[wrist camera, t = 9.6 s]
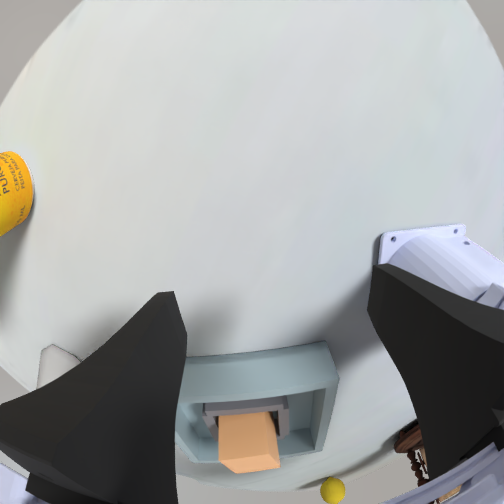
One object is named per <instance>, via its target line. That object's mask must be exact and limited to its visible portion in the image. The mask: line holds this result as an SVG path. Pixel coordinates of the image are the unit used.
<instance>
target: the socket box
mask: <svg viewBox="0 0 504 504" xmlns="http://www.w3.org/2000/svg"><path fill="white" fill-rule="evenodd" d="M338 383H339V375H338V373H337V370H336V367H335V365H334V362H333V359H332V357H331V354H330V351H329V349H328V346H327V344H326V341H322V342H316V343H311V344H305V345H298V346H292V347H285V348H278V349H271V350H263V351H255V352H246V353H237V354H226V355H214V356H200V357H186V361H185V367H184V372H183V378H182V383H181V388H180V394H179V399H178V405H177V412H176V421H175V442H176V444H177V445H178V446H179V447H180V449H181V450H182V451H183V452H184V453H185V455H186V456H187V457H188V458H189V459H190V461H191V462H192V463H221V462H220V461H219V416H224V415H239V414H250V413H260V412H268V411H272V412H273V416H274V424H275V431H276V438H277V445H278V452H279V458H286V457H293V456H299V455H304V454H310V453H315V452H320V451H322V449H323V446H324V442H325V439H326V435H327V431H328V427H329V423H330V419H331V415H332V411H333V407H334V402H335V398H336V393H337V388H338Z"/></svg>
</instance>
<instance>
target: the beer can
mask: <svg viewBox="0 0 504 504" xmlns="http://www.w3.org/2000/svg"><path fill="white" fill-rule="evenodd" d="M33 198H34V180H33V175H32V172H31V170H30V168H29V166H28V164H27V163H26V162H25V161H24V160H23V159H22V158H21V157H20V156H19V155H18V154H17V153H15V152H11V151H8V152H3V153H0V237H1V236H2V235H3V234H5V233H6V232H8V231H9V230H11V229H12V228H14V227H16V226H17V225H19V224H20V223H22V222H23V221H24V220H25V219H26V218H27V216H28V214H29V212H30V209H31V206H32V202H33Z"/></svg>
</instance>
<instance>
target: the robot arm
mask: <svg viewBox="0 0 504 504" xmlns="http://www.w3.org/2000/svg"><path fill="white" fill-rule="evenodd" d="M454 230H455V231H454ZM465 231H466V227H465V225H463V224H454V225H445V226H436V227H428V228H419V229H410V230H402V231H393V232H386V233H384V234H383V235H382V236H381V239H380V250H379V259H378V265H373V272H372V280H371V288H370V295H369V301H368V308H367V311H368V313H369V316H370V318H371V321H372V323H373V326H374V328H375V330H376V332H377V334H378V336H379V337H380V339H381V341H382V343H383V344H384V346H385V348H386V350H387V351H388V353H389V355H390V357H391V358H392V360H393V362H394V364H395V365H396V367H397V369H398V371H399V372H400V374H401V376H402V378H403V380H404V382H405V385H406V387H407V390H408V393H409V395H410V398H411V401H412V403H413V407H414V410H415V413H416V416H417V419H418V423H419V427H420V431H421V435H422V439H423V444H424V450H425V456H426V463H427V473H428V476H429V479H430V482H428V483H426V484H424V485H422V486H420V487H418V488H416V489H414V490H411V491H409V492H407V493H405V494H402V495H400V496H398V497H395V498H393V499H390V500H387V501H385V502H382V503H379V504H428V503H430V502H432V501H434V500H436V499H437V498H439V497H441V496H443V495H444V494H446V493H448V492H450V491H451V490H453V489H455V488H456V487H458V486H459V485H461V484H462V486H461V487H460V491H459V493H458V494H457V495H455V496H453V497H452V498H450V499H448V500H446V501H444V502H443V503H441V504H504V263H503V262H501V261H500V260H499V259H497V258H496V257H495V256H493V255H492V254H490V253H489V252H488V251H486V250H485V249H483V248H482V247H480V246H479V245H477V244H476V243H475V242H473V241H472V240H470V239H469V238H467V237H465ZM393 236H394V239H393V240H391V238H392V237H393ZM186 350H187V332H186V329H185V326H184V323H183V320H182V317H181V314H180V311H179V307H178V304H177V301H176V297H175V294H174V291H170V292H159V293H157V294H156V295H154V296H153V297H152V298H151V299H150V300H149V301H148V302H147V303H146V304H145V305H144V306H143V307H142V308H141V309H140V310H139V311H138V312H137V313H136V314H135V315H134V316H133V317H132V318H131V319H130V320H129V321H128V322H127V323H126V324H125V325H124V326H123V327H122V328H121V329H120V330H119V331H118V332H117V333H115V334H114V335H113V336H112V337H111V338H110V339H109V340H108V341H107V342H106V343H105V344H104V345H102V346H101V347H100V348H99V349H98V350H96V351H95V352H94V353H93V354H91V355H90V356H89V357H88V358H86V359H85V360H84V361H82V362H81V363H80V364H78V365H77V366H75V367H74V368H72V369H71V370H69V371H68V372H66V373H64V374H63V375H61V376H60V377H58V378H57V379H55V380H53V381H52V382H50V383H48V384H46V385H44V386H42V387H40V388H38V389H36V390H34V391H32V392H30V393H28V394H26V395H23V396H21V397H18V398H16V399H13V400H11V401H8V402H5V403H2V404H1V405H0V450H1V451H2V452H3V453H5V454H6V455H7V456H8V457H10V458H11V459H12V460H14V461H15V462H16V463H17V464H19V465H20V466H21V467H23V468H24V469H26V470H27V471H29V472H30V474H29V478H26V477H25V476H23V475H21V474H20V473H18V472H16V471H14V470H13V469H11V468H9V467H8V466H6V465H4V464H3V463H0V504H178V497H177V488H176V473H175V421H176V412H177V405H178V399H179V394H180V388H181V383H182V378H183V372H184V367H185V361H186Z"/></svg>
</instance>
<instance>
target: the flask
mask: <svg viewBox="0 0 504 504" xmlns="http://www.w3.org/2000/svg"><path fill="white" fill-rule="evenodd" d="M80 363H81V362H80V361H79V360H78V359H77V358H76V357H75V356H74V355H72V354H70V353H68V352H66V351H64V350H62V349H60V348H58V347H56V346H54V345H53V344H52V345H50V346H48V347H47V348H45V349H43V350H42V351H41V357H40V364H39V372H38V381H37V389H38V388H40V387H42V386H44V385H46V384H48V383H50V382H52V381H53V380H55V379H57V378H58V377H60V376H61V375H63V374H64V373H66V372H68V371H69V370H71V369H72V368H74V367H75V366H77V365H78V364H80Z"/></svg>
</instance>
